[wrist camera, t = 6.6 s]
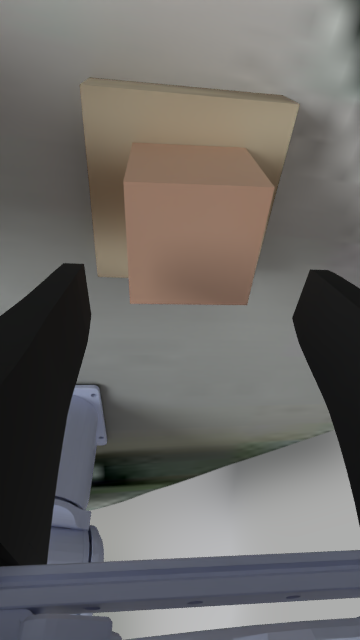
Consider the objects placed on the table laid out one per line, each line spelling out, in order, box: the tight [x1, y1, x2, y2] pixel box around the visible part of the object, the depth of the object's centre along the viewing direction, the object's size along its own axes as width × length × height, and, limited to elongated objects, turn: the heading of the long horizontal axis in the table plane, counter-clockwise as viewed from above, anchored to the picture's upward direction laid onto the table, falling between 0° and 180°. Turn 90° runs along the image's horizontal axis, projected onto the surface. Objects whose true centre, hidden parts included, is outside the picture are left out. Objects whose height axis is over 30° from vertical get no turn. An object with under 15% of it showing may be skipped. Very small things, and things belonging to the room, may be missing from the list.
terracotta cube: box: [123, 142, 275, 305], centre depth 14 cm, size 5×5×5 cm
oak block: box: [80, 78, 300, 278], centre depth 18 cm, size 9×9×3 cm
